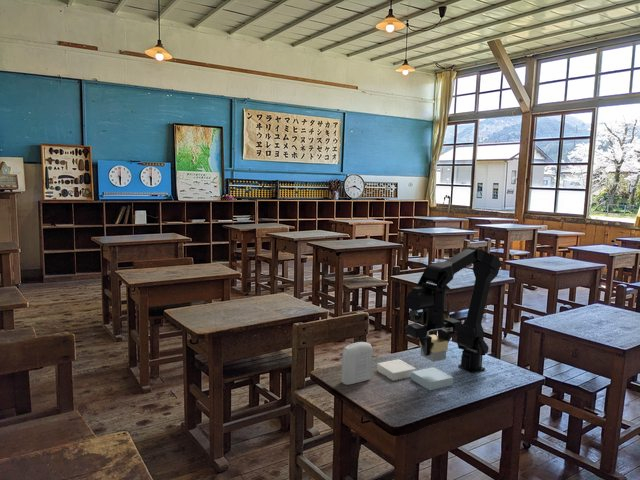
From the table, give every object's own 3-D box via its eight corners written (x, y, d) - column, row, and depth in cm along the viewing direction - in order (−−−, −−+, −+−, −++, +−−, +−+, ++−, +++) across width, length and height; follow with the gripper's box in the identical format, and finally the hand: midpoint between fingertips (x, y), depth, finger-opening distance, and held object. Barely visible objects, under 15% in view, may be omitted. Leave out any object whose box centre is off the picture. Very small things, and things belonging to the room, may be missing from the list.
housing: (447, 359, 150) (448, 340, 149) (433, 362, 147) (434, 343, 147) (432, 352, 156) (433, 334, 155) (419, 355, 153) (420, 336, 152)
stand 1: (398, 366, 165) (399, 359, 165) (415, 375, 157) (415, 368, 157) (377, 370, 161) (377, 363, 161) (393, 380, 153) (393, 373, 153)
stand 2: (433, 374, 159) (433, 367, 158) (452, 385, 151) (452, 377, 150) (411, 379, 154) (411, 371, 154) (429, 390, 147) (430, 382, 146)
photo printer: (364, 374, 157) (366, 338, 156) (373, 379, 154) (374, 342, 152) (339, 381, 152) (340, 343, 150) (347, 386, 148) (348, 347, 146)
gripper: (441, 296, 161) (438, 341, 163) (395, 302, 152) (393, 350, 154) (465, 304, 151) (462, 352, 153) (417, 311, 142) (415, 362, 145)
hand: (433, 354), depth 151 cm, fingers closed on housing, 5 cm apart
